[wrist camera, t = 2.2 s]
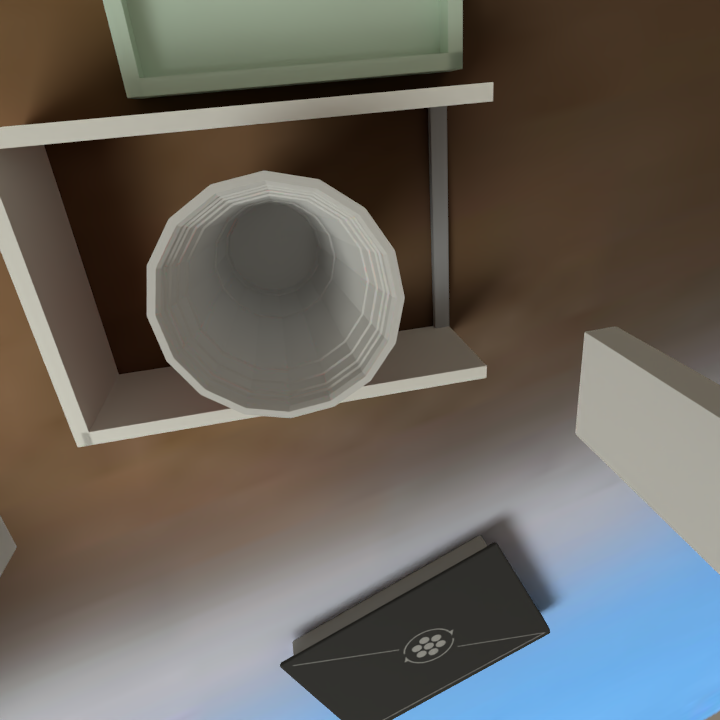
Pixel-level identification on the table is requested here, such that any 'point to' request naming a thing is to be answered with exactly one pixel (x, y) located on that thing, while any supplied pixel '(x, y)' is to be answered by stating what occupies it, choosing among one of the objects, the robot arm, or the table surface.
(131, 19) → the tray
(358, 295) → the plastic cup
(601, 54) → the table surface
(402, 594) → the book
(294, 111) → the frame
